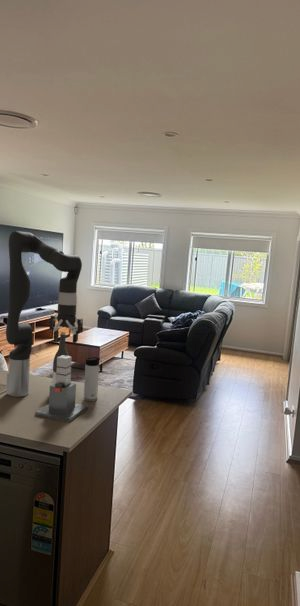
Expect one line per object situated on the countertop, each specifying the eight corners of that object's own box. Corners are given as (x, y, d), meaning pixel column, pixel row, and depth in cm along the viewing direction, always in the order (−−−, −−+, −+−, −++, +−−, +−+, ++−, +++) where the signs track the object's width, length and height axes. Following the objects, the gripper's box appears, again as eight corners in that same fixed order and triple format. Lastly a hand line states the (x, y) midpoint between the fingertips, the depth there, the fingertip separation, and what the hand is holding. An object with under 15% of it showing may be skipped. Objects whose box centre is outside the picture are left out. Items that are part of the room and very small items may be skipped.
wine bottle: (52, 395, 195) (54, 332, 192) (51, 389, 203) (54, 329, 200) (69, 394, 197) (72, 333, 194) (68, 389, 205) (71, 329, 202)
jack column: (54, 399, 173) (56, 357, 171) (60, 396, 178) (62, 355, 176) (64, 401, 172) (66, 358, 170) (70, 397, 176) (71, 356, 174)
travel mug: (95, 402, 190) (97, 359, 188) (81, 400, 191) (83, 358, 189) (99, 397, 196) (101, 356, 194) (86, 396, 197) (88, 355, 195)
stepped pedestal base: (35, 415, 170) (36, 384, 169) (54, 403, 185) (56, 374, 184) (69, 422, 166) (71, 390, 164) (87, 409, 181) (88, 379, 179)
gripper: (47, 302, 170) (45, 341, 171) (78, 305, 166) (76, 345, 167) (56, 300, 177) (55, 338, 179) (86, 304, 173) (84, 342, 175)
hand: (65, 341), depth 173 cm, fingers open, 8 cm apart
